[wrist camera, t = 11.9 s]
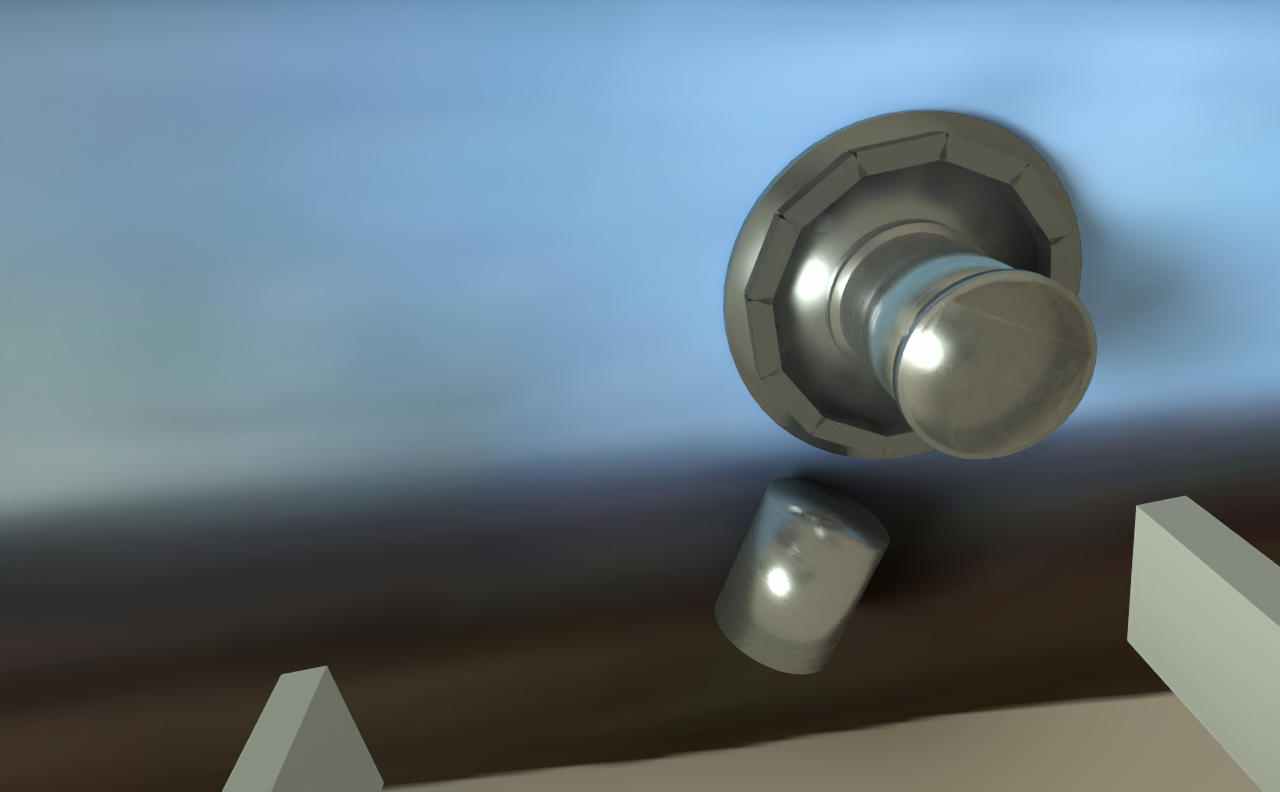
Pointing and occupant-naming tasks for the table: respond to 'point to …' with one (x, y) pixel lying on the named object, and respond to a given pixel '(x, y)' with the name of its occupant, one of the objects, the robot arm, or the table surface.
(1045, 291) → the knob
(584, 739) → the table surface
